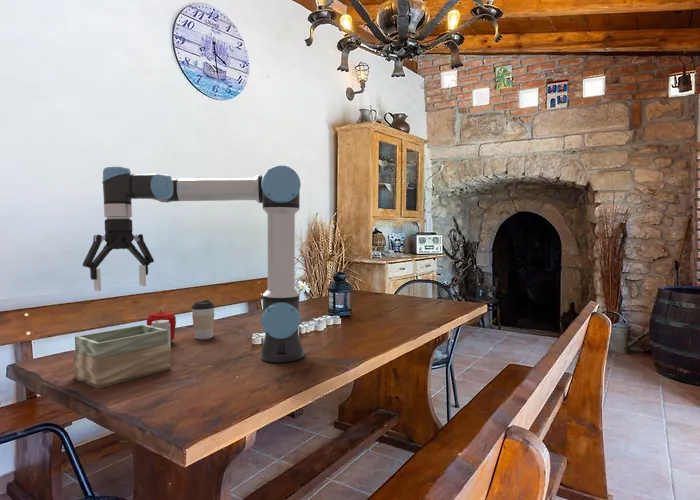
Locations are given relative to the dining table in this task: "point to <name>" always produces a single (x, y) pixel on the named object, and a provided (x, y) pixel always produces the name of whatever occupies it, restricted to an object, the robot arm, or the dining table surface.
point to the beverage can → (163, 325)
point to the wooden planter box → (120, 355)
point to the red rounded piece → (163, 316)
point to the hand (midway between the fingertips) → (121, 288)
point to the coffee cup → (203, 319)
